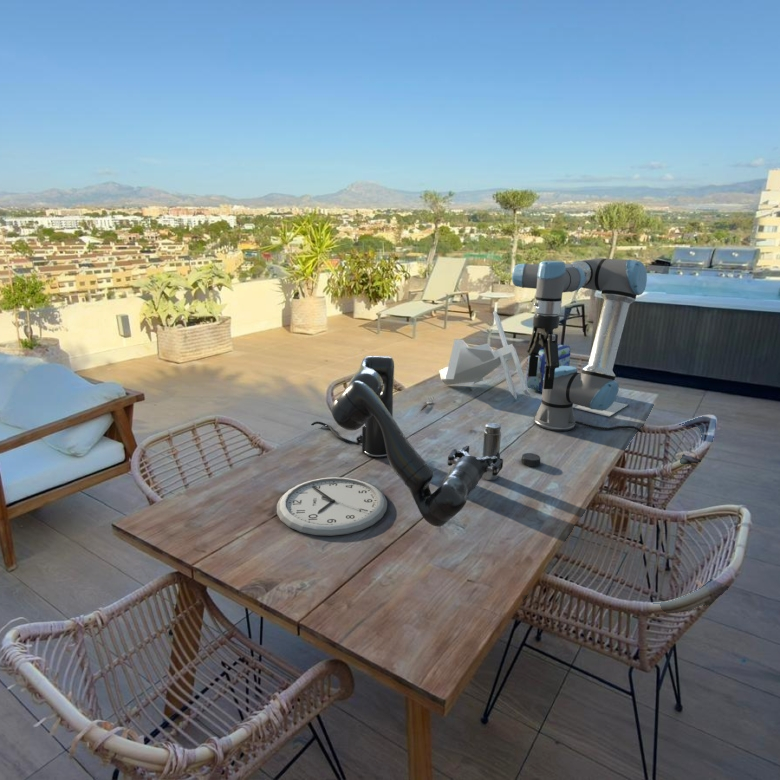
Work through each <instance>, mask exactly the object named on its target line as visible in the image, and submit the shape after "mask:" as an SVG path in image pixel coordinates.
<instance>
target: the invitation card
mask: <svg viewBox="0 0 780 780" xmlns="http://www.w3.org/2000/svg"><path fill="white" fill-rule="evenodd" d="M628 406H629V404H627V403H623V402H618V401H614V402H613V404H612V405H611V406H610V407H609V408H608V409H606V410H603V411H600V410H596V409H591V408H588V407H584V406H580V405H575V406H574V407H573V409H575V410H581V411H584V412H587V413H593V414H596V415H600V416H604V417H608V418H609V417H611V416H613V415H614V414H616V413H617V412H619V411H621V410H623V409H624V408H626V407H628Z"/></svg>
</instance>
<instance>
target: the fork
mask: <svg viewBox="0 0 780 780" xmlns="http://www.w3.org/2000/svg"><path fill="white" fill-rule="evenodd" d="M434 399H435V396H429V397H428V398H427V399H426V403H425V404H424V405H423V406H422V407H421V409H420V411H423V410H424V409H426V408H427V407H428V405H430V404H433V402H434Z"/></svg>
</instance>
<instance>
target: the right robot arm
mask: <svg viewBox="0 0 780 780" xmlns="http://www.w3.org/2000/svg"><path fill="white" fill-rule="evenodd" d="M511 274H512V275H511V281H512V284H513V286H515V287H517V288H523V289H534V290H535V289H536V290H535V300H534V303H533V307H534V309H533V310H534V313H535V314H533V318H532V326H533V327H532V332H531V336H530V339H529V343H528V346H527V349H526V353H527V354H528V358H529V366H528V377H536V376H537V366H538V357H536V356H539V351H540V349H541V347H542V348H543V349H544V353H545V359H546V364H547V366H545V374H544V378H543V380H544V381H543V391H542V392H541V393H542V394H541V402H540V405H539V407H538V410H537V411H536V413H535V417H534V424H535V425H536V426H537V427H539V428H542V429H544V430H549V431H556V432H567V431H572V430H574V429H575V428H576V425H580V426H584V427H587V428H592V429H596V430H604V431H612V430H617V429H632V430H633V429H634V430H636V431H637V432H639V433H640V434H641V433H642V434H643V430H642V429H640V428H639V427H637V426H634V425H615V426H611V427H605V426H597V425H594V424H588V423H585V422H581V421H579V420H578V421H577V420H576V418H575V417H576V416H575V413H574V407H573V405H575V406H578V405H580V406H584V407H588V408H591V409H596V410H600V411H603V410H606V409H608V408H609V407H610V406H611V405H612V404H613V402H616V401H615V400H616V399H617V396H618V394H619V387H620V384H619V382H618V381H617V380H615V379H616V374H615V373H614V371H613V369H614V366H615V362H616V358H617V353H618V350H619V346H620V342H621V339H622V334H623V331H624V328H625V324H626V320H627V316H628V312H629V308H630V305H631V304H633V303H634V302H636V299H637V296H640V295H643V293H644V292H645V290H646V287H647V281H648V274H647V269H646V266H645V264H644V263H643V262H642V261H640V260H634V259H630V258H629V259H622V258H601V257H600V258H591V259H582V260H574V261H573V262H571V263H566V262H565V261H560V260H543V261H540V263H538V264H537V263H536V264H535V263H534V264H531V263H518V264H516V265H514V268H513V269H512V273H511ZM581 289H587V290H592V291H597V292H601V293H600V297H601V298H602V299H603V302H602V303H603V304H602V307H601V311H600V315H599V319H598V322H597V327H596V331H595V335H594V338H593V343H592V347H591V351H590V354H589V359H588V362H587V365H586V366H584V367H583V368H581V372H578V368H577V367H575V366H571V365H569V366H559V356H558V342H559V341H558V340H559V335H558V334H557V333H554V330H557V329H559V326H560V318H561V317H560V314H561V312H562V311H561V310H562V302H563V293H573V292H576V291H578V290H581ZM529 356H530V357H529Z"/></svg>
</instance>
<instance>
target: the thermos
mask: <svg viewBox="0 0 780 780" xmlns="http://www.w3.org/2000/svg"><path fill="white" fill-rule="evenodd" d="M484 426H485V429H484V431H483V432H484V433H483V443H482V456H481V457H486V456H488V457H493V455H494V454H495V452H499V453H500V452H501V451H500V450H501V438H502V432H501V429H502V426H501V424H499V423H498V422H497V423H496V422H487V423H486V424H485V425H484ZM485 462H486V461H485ZM491 463H492V461H491ZM498 474H499V473H498ZM498 474H497V475H496V476H494V475H492V472H490V471H487V472H485V473H484V474H483V476H482V477H481V479H483V480H486V481H496V480H497V479H498V476H499V475H498Z"/></svg>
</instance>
